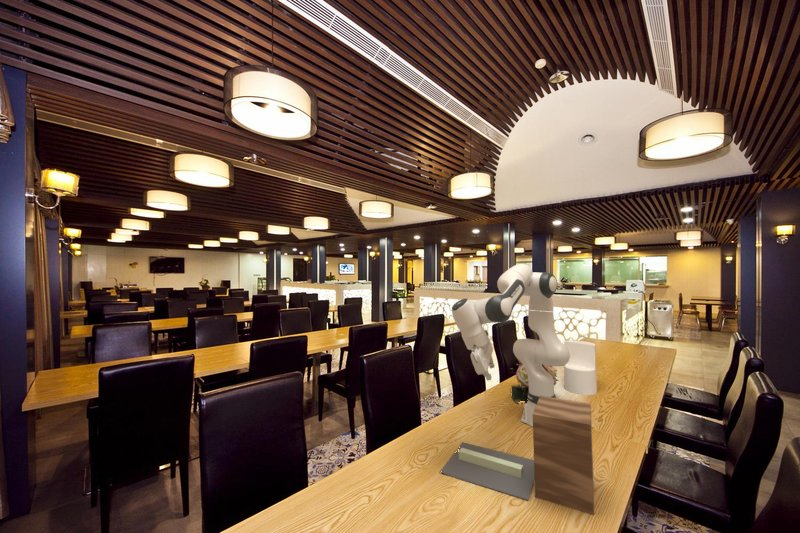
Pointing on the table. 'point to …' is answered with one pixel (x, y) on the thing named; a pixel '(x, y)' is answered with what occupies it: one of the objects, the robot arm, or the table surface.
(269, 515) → the table surface
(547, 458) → the wooden pedestal block
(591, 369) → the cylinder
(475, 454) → the stick
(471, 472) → the mat
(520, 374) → the rose bouquet
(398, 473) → the table surface
